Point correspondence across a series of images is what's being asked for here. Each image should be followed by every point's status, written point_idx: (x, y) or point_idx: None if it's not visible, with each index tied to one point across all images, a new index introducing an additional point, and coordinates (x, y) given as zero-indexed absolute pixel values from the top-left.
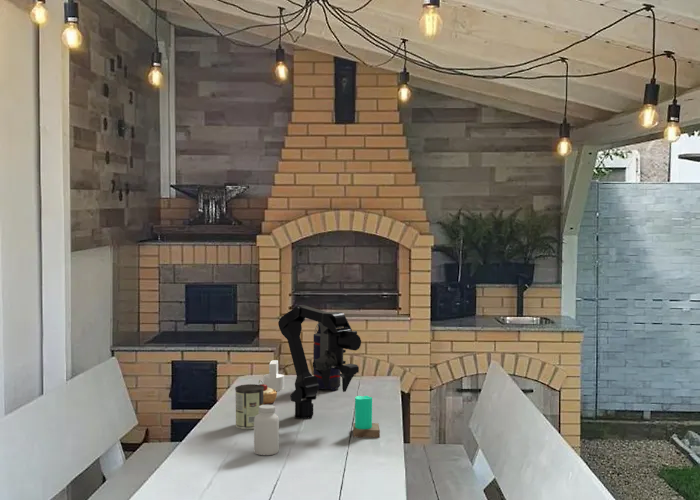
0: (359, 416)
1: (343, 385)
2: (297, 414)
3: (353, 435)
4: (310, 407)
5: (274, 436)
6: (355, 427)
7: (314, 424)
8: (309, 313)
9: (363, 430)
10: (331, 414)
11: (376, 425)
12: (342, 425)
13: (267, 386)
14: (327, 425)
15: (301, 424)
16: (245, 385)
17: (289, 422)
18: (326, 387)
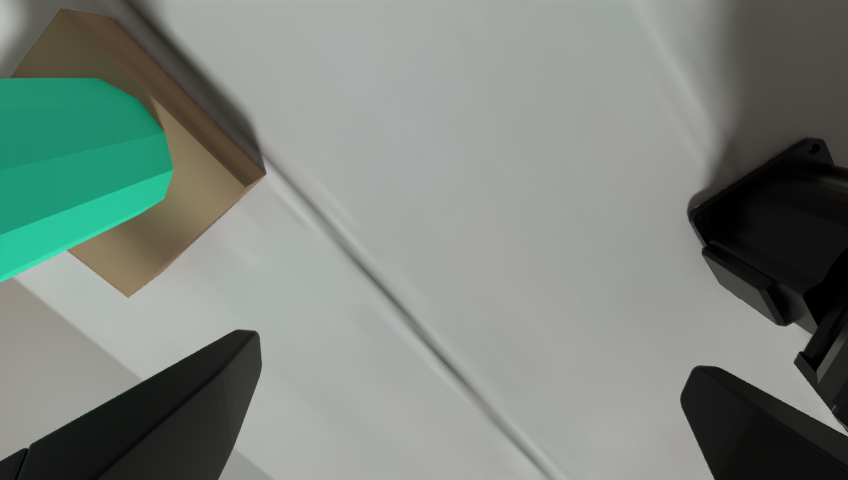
0: None
1: (124, 406)
2: (821, 175)
3: (148, 56)
4: (764, 261)
5: None
6: (123, 91)
7: (584, 107)
8: None
9: (17, 69)
10: (618, 362)
11: (84, 246)
12: (403, 218)
13: None
14: (486, 151)
15: (677, 34)
16: None
17: (803, 13)
18: (693, 381)
